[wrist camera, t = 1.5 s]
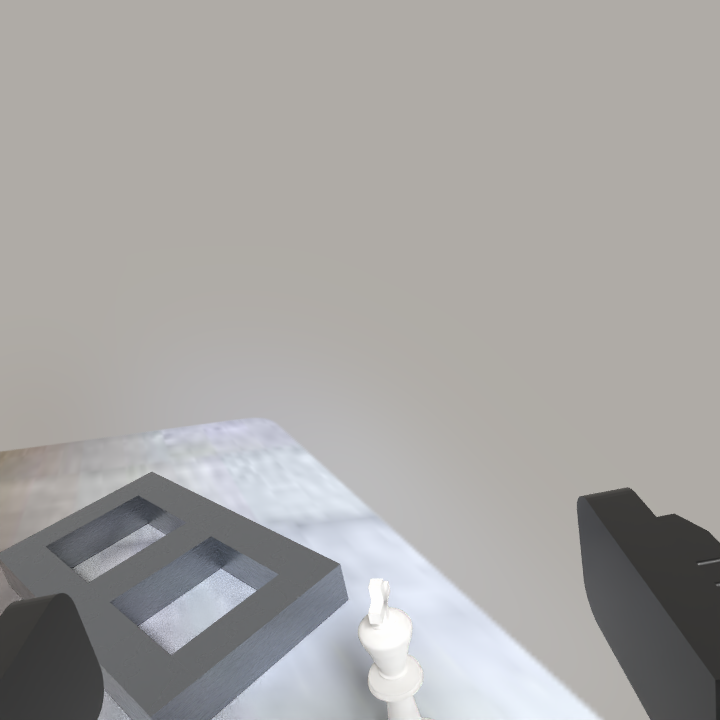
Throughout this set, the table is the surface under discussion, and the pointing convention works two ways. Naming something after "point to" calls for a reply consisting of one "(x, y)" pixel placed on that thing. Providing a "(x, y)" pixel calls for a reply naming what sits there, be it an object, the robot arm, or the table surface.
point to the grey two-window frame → (178, 595)
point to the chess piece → (390, 655)
